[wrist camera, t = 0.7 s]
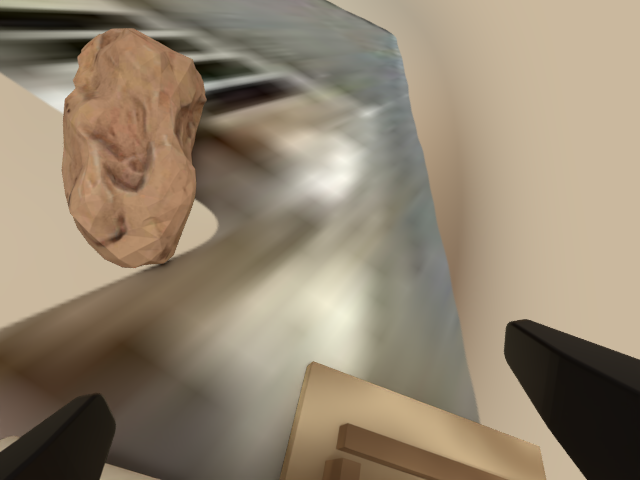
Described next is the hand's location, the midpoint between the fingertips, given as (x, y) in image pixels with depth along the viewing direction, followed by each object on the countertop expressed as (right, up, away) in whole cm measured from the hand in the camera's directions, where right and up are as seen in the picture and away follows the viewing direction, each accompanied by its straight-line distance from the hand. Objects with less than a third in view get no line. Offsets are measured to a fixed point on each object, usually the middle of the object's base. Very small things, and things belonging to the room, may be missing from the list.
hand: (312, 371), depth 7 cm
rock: (-14, +8, +19) cm, 25 cm away
